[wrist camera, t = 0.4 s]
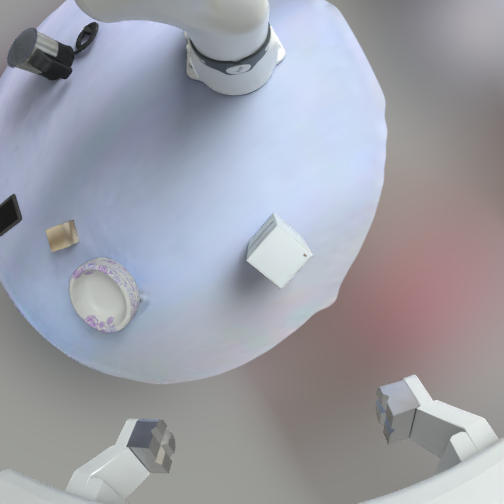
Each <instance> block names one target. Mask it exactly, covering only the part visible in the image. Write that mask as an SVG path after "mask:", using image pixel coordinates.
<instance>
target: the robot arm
mask: <svg viewBox="0 0 504 504" xmlns="http://www.w3.org/2000/svg"><path fill="white" fill-rule="evenodd" d="M74 1H75V2H76V4H77V6H78V7H79V8H80V9H81V10H82V11H83V12H84V13H85V14H86V15H88V16H90V17H91V18H93V19H95V20H98V21H101V22H104V23H113V22H120V21H130V20H143V21H153V22H159V23H164V24H168V25H171V26H175V27H178V28H180V29H182V30H184V35H185V39H187V40H188V43H187V46H186V49H187V69H186V72H187V75H188V77H190V78H192V79H195V80H199V81H202V82H203V83H205V84H206V85H207V86H208V87H210V88H211V89H213V90H214V91H216V92H219V93H222V94H226V95H243V94H247V93H250V92H253V91H255V90H257V89H258V88H260V87H261V86H263V85H264V84H265V83H266V82H267V81H268V79H269V78H270V77H271V75H272V73H273V70H274V68H275V67H276V65H277V64H279V63H280V62H281V61H282V60H283V59H284V58H285V56H286V53H285V50H284V48H283V46H282V45H281V43H280V41H279V39H278V38H277V36H276V34H275V32H274V31H273V29H272V27H271V26H270V24H269V3H268V0H74ZM278 49H279V50H278ZM191 67H193V68H191ZM377 396H378V400H377V402H376V414H377V418H378V421H379V423H380V424H381V425H383V426H384V431H383V433H384V435H385V438H386V440H387V443H388V444H393V443H395V442H398V441H402V440H405V439H408V438H409V439H410V440H412V441H413V442H415V443H417V444H418V445H420V446H421V447H423V448H424V449H426V450H428V451H429V452H431V453H432V454H434V455H436V456H437V457H439V458H441V460H440V462H439V464H438V466H437V468H436V470H435V472H434V473H435V476H432V477H430V478H428V479H426V480H423V481H421V482H418V483H416V484H413V485H411V486H408V487H406V488H403V489H400V490H398V491H395V492H392V493H389V494H386V495H383V496H380V497H377V498H373V499H370V500H367V501H363V502H360V503H356V504H504V437H503V438H501V439H498V437H497V436H496V434H495V433H494V431H493V430H492V428H491V427H490V426H489V424H488V423H487V421H486V420H485V419H484V418H482V417H479V416H477V415H474V414H472V413H469V412H466V411H463V410H461V409H458V408H456V407H453V406H451V405H448V404H445V403H443V402H440V401H438V400H435V401H433V400H432V399H431V397H430V395H429V394H428V392H427V391H426V389H425V388H424V387H423V385H422V383H421V382H420V380H419V379H418V378H417V376H416V375H412V376H409V377H407V378H404V379H400V380H397V381H394V382H392V383H389V384H386V385H383V386H379V387H378V388H377ZM166 427H167V425H166V423H165V422H164V420H154V419H153V420H152V419H131V418H130V419H128V420H127V421H126V423H125V425H124V427H123V429H122V431H121V434H120V436H119V438H118V440H117V442H116V444H115V446H111V447H109V448H108V449H106V450H105V451H104V452H102V453H101V454H99V455H98V456H96V457H95V458H94V459H92V460H91V461H89V462H88V463H86V464H85V465H83V466H82V467H80V468H79V469H77V470H76V471H75V472H74V474H73V476H72V478H71V480H70V482H69V484H68V486H67V488H66V490H65V491H62V490H59V489H56V488H54V487H51V486H49V485H46V484H44V483H42V482H39V481H37V480H35V479H33V478H30V477H28V476H26V475H24V474H22V473H20V472H18V471H16V470H13V469H6V470H3V471H1V472H0V504H129V503H128V502H127V501H125V500H124V499H125V498H126V497H127V496H128V495H129V494H130V493H131V492H132V491H133V490H134V489H135V488H136V487H137V486H138V485H139V484H140V483H141V482H142V481H143V480H144V479H145V478H146V477H147V476H148V475H149V474H150V472H152V473H169V470H170V466H171V463H172V460H171V459H170V456H171V455H172V454H173V453H174V451H175V439H174V436H173V434H172V433H171V432H170V431H168V430H166Z"/></svg>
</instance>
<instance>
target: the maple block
mask: <svg viewBox="0 0 504 504" xmlns="http://www.w3.org/2000/svg"><path fill="white" fill-rule="evenodd" d="M46 234H47V237H48V241H49V244H50V248H51V251H52V252H54V251H57V250H60V249H63V248H67V247H69V246H71V245H73V244H75V243H77V242H79V239H78V235H77V232H76V228H75V225H74V221H73V220H71V221H69V222H66V223H63V224H60V225H57V226H55V227H52V228H49V229H47V230H46Z"/></svg>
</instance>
